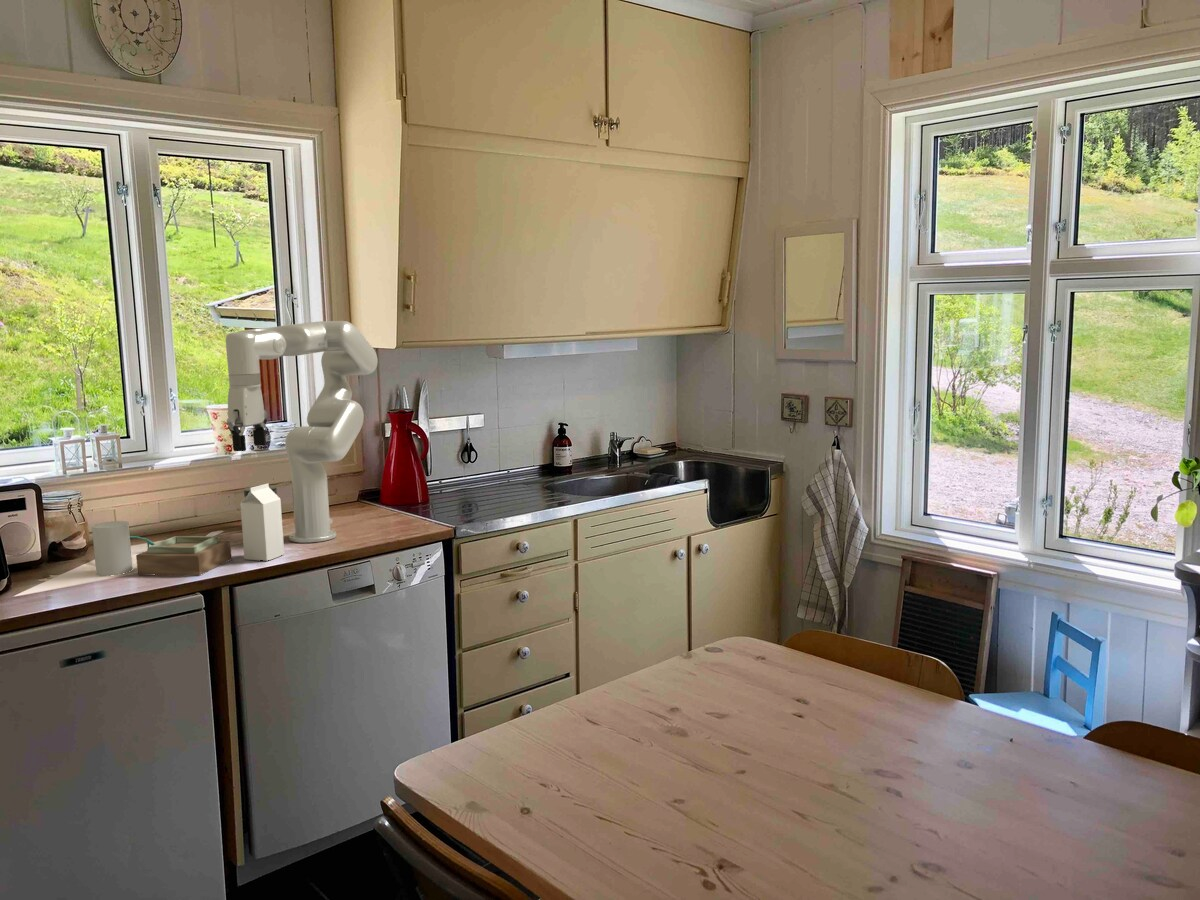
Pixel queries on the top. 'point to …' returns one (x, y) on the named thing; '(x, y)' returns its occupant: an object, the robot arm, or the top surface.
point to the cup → (112, 548)
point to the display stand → (184, 555)
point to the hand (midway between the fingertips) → (250, 448)
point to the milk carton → (262, 524)
